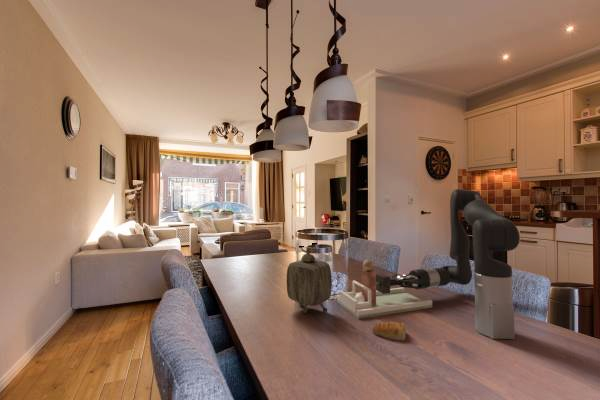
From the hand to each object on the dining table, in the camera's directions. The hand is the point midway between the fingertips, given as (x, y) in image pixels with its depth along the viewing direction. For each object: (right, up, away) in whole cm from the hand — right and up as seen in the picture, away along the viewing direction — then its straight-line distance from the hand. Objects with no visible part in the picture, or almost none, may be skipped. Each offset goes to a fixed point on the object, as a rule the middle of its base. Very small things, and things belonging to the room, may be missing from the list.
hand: (386, 282), depth 109 cm
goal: (-13, -7, -4) cm, 15 cm away
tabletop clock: (-30, -9, -6) cm, 31 cm away
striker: (-4, -7, -1) cm, 8 cm away
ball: (-11, -5, -3) cm, 12 cm away
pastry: (-6, -9, -25) cm, 27 cm away
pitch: (-1, -8, 0) cm, 8 cm away
